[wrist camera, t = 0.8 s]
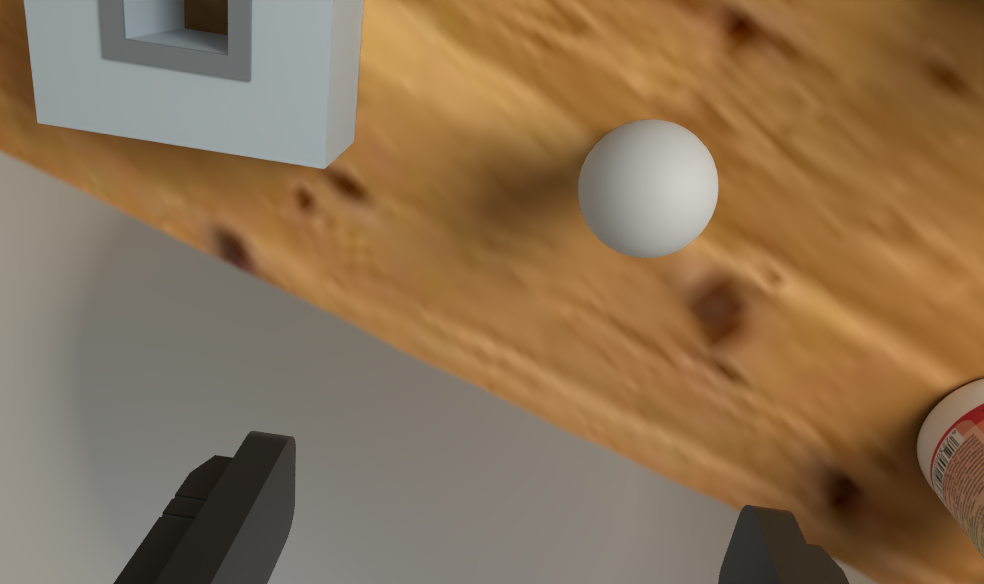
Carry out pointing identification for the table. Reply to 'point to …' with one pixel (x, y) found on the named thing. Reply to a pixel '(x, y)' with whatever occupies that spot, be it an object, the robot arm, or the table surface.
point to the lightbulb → (648, 188)
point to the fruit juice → (957, 457)
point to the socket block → (202, 74)
